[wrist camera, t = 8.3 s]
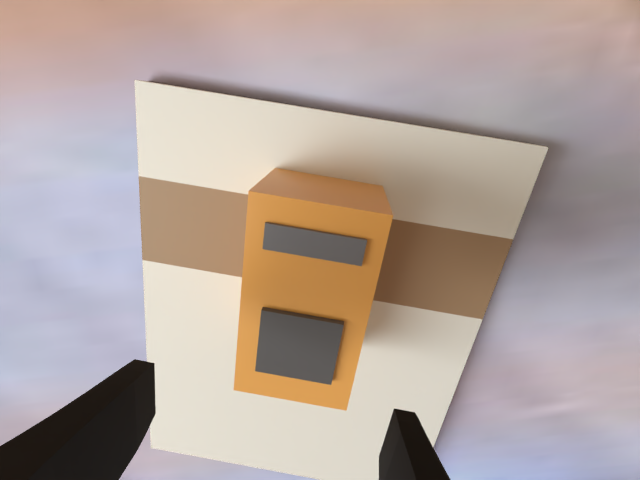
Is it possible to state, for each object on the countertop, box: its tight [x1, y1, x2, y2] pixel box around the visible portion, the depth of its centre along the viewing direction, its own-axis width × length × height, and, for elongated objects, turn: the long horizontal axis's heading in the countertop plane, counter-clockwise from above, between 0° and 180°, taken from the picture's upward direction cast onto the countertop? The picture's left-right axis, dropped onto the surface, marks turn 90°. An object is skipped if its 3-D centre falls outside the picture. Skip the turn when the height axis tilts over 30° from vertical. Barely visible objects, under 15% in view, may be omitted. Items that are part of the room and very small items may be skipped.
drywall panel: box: [135, 80, 549, 480], centre depth 20 cm, size 18×23×1 cm
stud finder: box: [234, 168, 393, 411], centre depth 16 cm, size 5×9×5 cm, turn 172°
